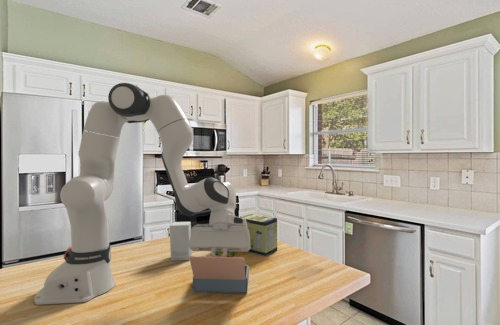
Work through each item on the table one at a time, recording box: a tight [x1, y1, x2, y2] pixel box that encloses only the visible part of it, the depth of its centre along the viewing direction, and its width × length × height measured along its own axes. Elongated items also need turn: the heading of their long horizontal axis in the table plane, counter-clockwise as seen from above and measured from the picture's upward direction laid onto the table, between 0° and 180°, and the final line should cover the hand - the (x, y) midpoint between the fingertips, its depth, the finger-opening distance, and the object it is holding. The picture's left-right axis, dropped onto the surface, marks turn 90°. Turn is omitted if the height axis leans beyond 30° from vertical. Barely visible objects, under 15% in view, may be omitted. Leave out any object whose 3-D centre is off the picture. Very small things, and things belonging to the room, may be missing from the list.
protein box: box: [240, 213, 278, 257], centre depth 133 cm, size 10×16×16 cm
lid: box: [189, 255, 246, 280], centre depth 88 cm, size 17×11×1 cm
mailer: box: [192, 264, 250, 294], centre depth 97 cm, size 18×11×5 cm, turn 88°
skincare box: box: [169, 221, 193, 262], centre depth 122 cm, size 8×7×16 cm
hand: (218, 263), depth 87 cm, fingers closed, pressing on lid
